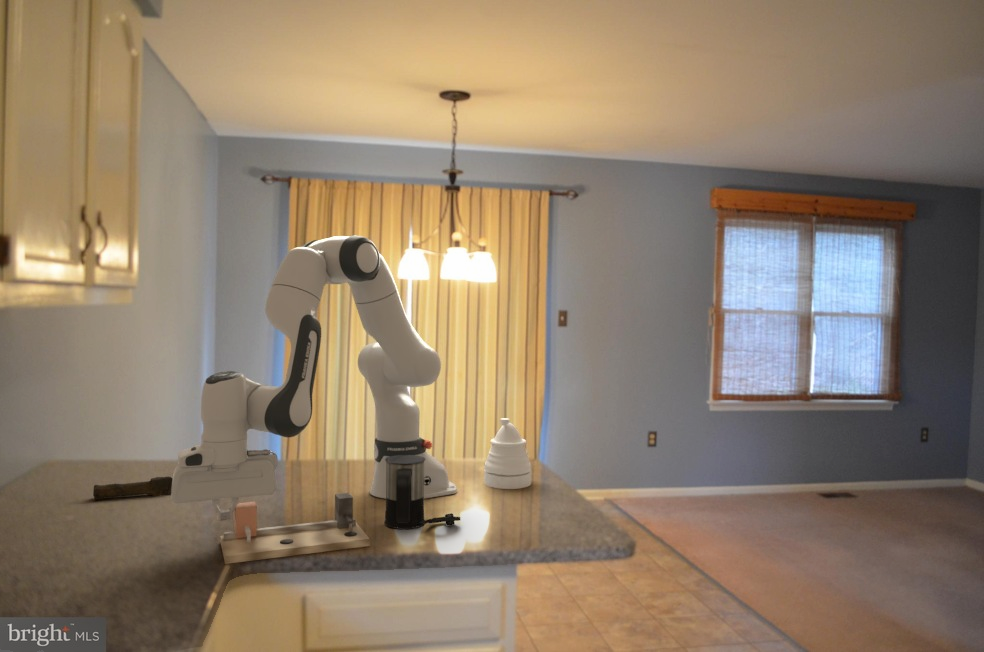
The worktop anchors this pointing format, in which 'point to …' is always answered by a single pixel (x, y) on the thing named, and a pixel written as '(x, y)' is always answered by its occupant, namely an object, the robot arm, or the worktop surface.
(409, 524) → the milk frother
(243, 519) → the block
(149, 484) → the hand tool
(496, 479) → the honey pot
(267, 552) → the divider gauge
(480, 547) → the worktop surface
